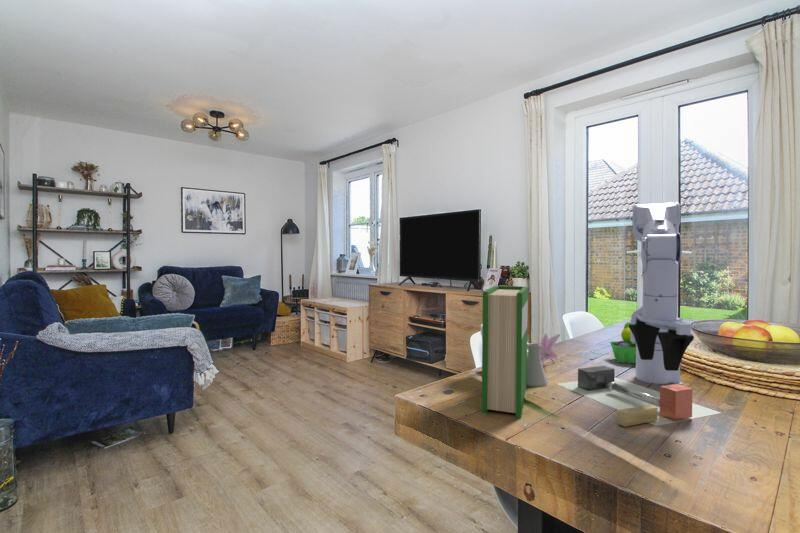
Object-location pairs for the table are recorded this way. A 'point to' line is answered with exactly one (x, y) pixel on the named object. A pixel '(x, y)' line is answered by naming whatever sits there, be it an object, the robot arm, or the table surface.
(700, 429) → the table surface
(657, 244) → the robot arm
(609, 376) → the eye bracket
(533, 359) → the flask
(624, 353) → the fruit basket
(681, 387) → the mallet
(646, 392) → the board
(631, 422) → the keeper bar
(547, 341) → the lily
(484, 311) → the hardback book
